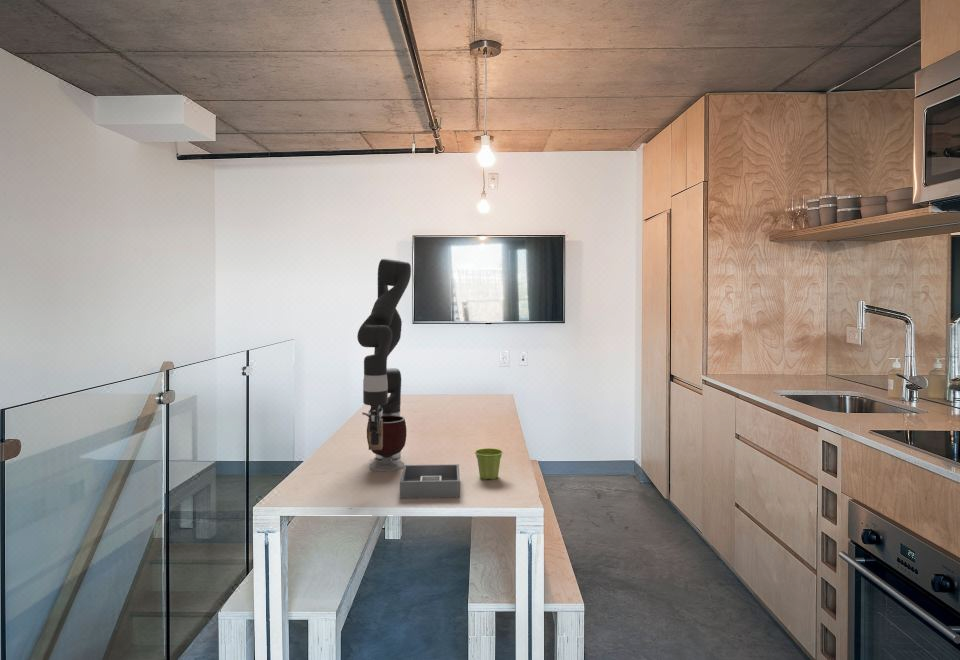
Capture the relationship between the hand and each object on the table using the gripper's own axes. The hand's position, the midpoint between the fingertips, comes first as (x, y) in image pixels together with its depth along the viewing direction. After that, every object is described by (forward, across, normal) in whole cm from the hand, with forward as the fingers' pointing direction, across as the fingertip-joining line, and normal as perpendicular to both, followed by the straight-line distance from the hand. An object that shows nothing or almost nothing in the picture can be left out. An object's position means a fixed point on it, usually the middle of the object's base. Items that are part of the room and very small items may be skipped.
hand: (375, 442), depth 194 cm
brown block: (+2, 0, 0) cm, 2 cm away
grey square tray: (+15, -1, -17) cm, 23 cm away
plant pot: (+15, +10, -36) cm, 40 cm away
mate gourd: (+15, +24, 0) cm, 28 cm away
